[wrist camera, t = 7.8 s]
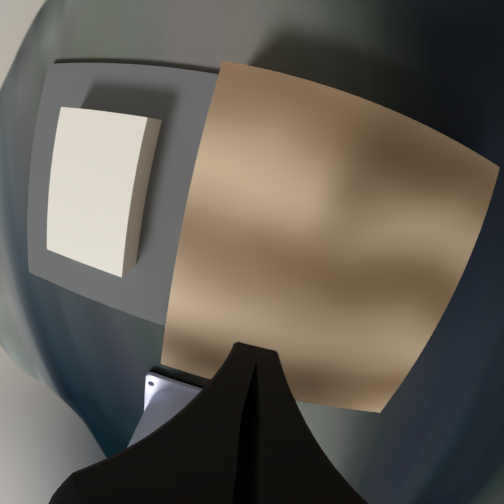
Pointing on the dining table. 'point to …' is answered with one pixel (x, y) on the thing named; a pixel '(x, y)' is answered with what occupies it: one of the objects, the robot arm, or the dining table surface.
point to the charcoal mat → (160, 181)
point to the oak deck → (320, 237)
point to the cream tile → (99, 186)
